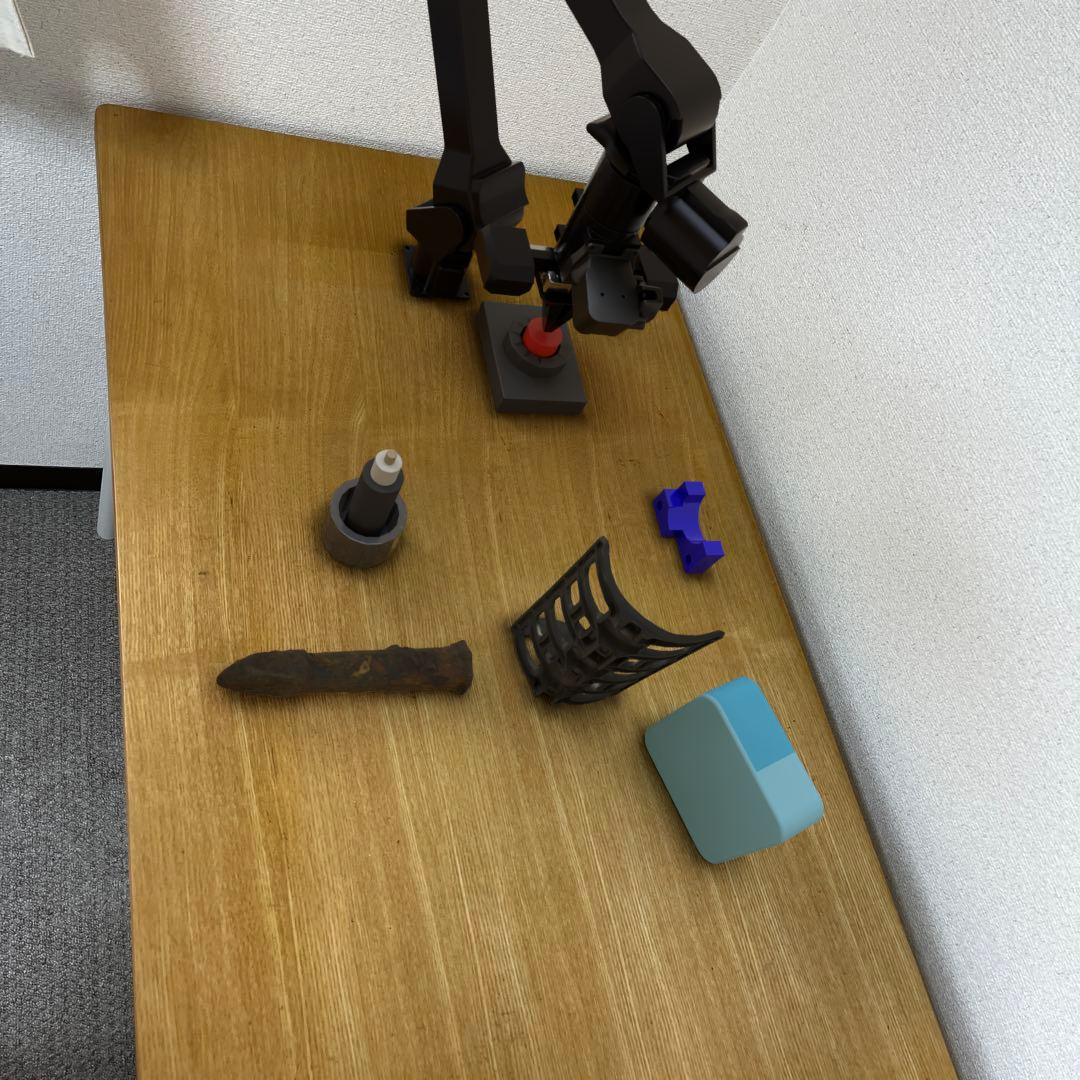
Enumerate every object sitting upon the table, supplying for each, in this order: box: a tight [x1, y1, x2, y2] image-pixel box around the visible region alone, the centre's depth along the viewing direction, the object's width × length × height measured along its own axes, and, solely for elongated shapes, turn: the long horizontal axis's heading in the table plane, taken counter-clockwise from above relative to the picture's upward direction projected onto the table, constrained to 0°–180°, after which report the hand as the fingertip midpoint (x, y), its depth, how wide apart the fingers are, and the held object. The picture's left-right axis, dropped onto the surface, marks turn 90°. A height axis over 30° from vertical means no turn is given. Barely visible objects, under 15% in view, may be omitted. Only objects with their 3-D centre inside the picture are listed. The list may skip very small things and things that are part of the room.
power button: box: [522, 317, 562, 357], centre depth 88 cm, size 4×4×2 cm
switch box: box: [475, 300, 589, 416], centre depth 90 cm, size 12×9×4 cm
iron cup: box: [321, 476, 408, 569], centre depth 74 cm, size 6×6×4 cm
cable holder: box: [651, 480, 725, 574], centre depth 87 cm, size 8×4×4 cm, turn 12°
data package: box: [644, 676, 825, 865], centre depth 71 cm, size 12×4×12 cm, turn 27°
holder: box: [509, 535, 726, 707], centre depth 69 cm, size 11×8×20 cm
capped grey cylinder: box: [344, 448, 405, 537], centre depth 71 cm, size 3×3×12 cm
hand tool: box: [215, 639, 474, 699], centre depth 68 cm, size 19×4×5 cm, turn 98°
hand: (546, 328), depth 87 cm, fingers closed
